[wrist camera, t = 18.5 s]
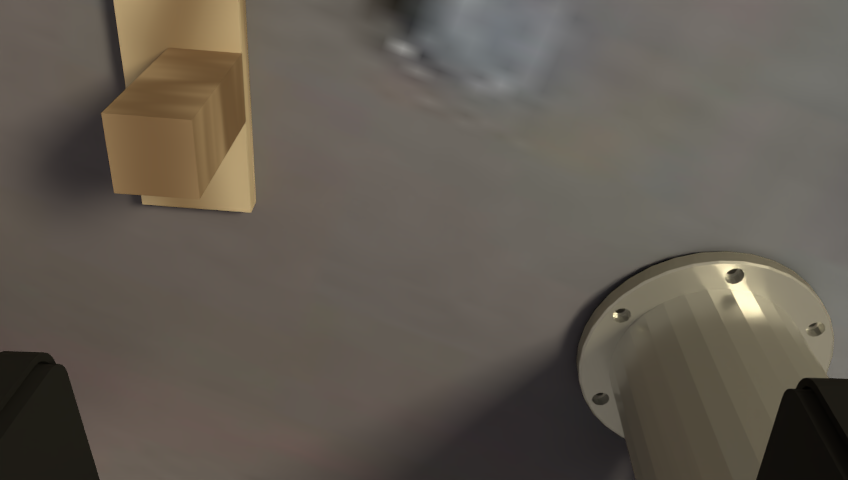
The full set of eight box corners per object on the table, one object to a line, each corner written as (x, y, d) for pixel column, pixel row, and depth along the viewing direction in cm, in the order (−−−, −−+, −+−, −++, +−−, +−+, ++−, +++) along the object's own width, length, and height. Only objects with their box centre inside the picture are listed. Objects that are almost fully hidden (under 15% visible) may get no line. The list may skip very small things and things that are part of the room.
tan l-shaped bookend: (242, -69, 30) (178, -20, 23) (256, 200, 36) (209, 302, 29) (114, -80, 30) (11, -34, 23) (151, 191, 36) (78, 292, 29)
